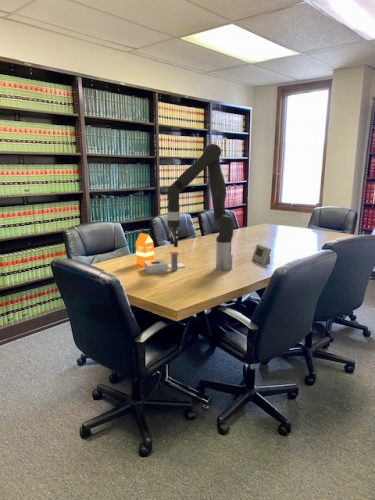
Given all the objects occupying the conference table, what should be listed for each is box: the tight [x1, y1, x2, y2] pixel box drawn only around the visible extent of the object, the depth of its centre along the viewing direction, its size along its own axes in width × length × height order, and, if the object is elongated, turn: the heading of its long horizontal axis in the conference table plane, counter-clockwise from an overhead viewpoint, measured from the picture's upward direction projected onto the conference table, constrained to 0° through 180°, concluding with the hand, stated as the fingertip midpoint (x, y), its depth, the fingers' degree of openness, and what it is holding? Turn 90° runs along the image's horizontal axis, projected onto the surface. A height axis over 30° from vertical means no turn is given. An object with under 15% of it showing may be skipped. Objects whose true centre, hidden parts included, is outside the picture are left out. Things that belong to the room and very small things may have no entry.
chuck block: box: [143, 259, 169, 275], centre depth 225 cm, size 12×12×5 cm
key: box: [169, 251, 179, 272], centre depth 224 cm, size 4×4×11 cm
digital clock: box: [252, 243, 272, 265], centre depth 243 cm, size 16×9×11 cm, turn 7°
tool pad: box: [167, 262, 186, 270], centre depth 234 cm, size 10×8×1 cm
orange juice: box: [135, 232, 155, 266], centre depth 239 cm, size 8×9×20 cm
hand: (173, 245), depth 222 cm, fingers open, 8 cm apart
